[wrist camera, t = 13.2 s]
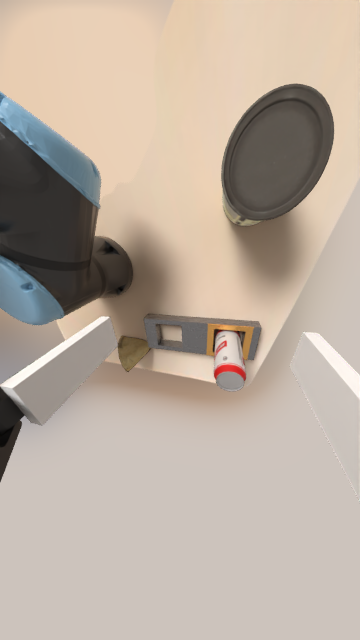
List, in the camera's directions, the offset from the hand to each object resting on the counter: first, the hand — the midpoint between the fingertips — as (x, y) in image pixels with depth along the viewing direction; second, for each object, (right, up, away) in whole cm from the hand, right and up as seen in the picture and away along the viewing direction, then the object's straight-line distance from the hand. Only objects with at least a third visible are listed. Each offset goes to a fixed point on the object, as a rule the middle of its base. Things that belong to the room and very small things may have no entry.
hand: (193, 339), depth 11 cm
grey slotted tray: (+4, -2, +34) cm, 34 cm away
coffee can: (+12, +24, +17) cm, 32 cm away
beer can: (+12, -3, +32) cm, 34 cm away
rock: (-16, -6, +41) cm, 45 cm away
